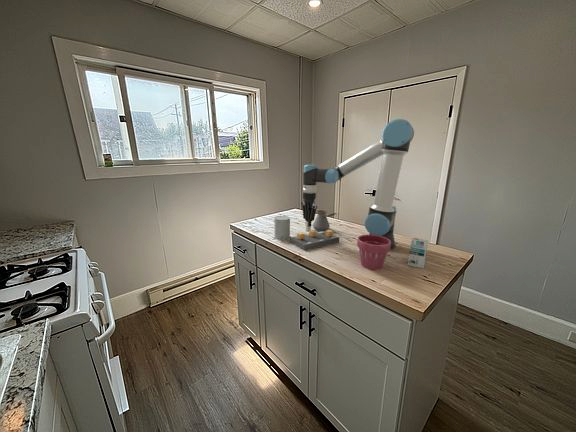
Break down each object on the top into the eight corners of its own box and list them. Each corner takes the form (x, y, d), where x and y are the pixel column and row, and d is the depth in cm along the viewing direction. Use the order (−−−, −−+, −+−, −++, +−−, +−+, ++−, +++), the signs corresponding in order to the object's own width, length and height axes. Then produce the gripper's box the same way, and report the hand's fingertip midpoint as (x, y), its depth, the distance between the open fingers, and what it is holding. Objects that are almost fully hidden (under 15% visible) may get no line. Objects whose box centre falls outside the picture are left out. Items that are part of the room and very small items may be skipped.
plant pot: (348, 262, 111) (350, 237, 108) (369, 256, 118) (372, 232, 115) (372, 275, 99) (376, 247, 96) (394, 268, 106) (398, 241, 103)
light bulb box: (423, 269, 106) (427, 246, 103) (407, 265, 109) (410, 243, 107) (425, 260, 115) (428, 239, 112) (409, 257, 118) (412, 237, 115)
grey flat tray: (339, 242, 138) (339, 236, 137) (304, 250, 125) (304, 244, 124) (323, 235, 149) (323, 230, 148) (290, 242, 137) (290, 237, 136)
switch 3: (332, 235, 138) (333, 231, 137) (328, 236, 137) (329, 231, 136) (329, 234, 141) (329, 229, 140) (325, 235, 139) (325, 230, 138)
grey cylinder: (271, 238, 142) (271, 218, 139) (278, 233, 151) (278, 215, 148) (286, 240, 139) (286, 220, 136) (292, 235, 148) (292, 216, 145)
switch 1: (304, 238, 133) (304, 233, 132) (300, 239, 132) (300, 234, 131) (301, 236, 136) (301, 232, 135) (297, 237, 134) (297, 232, 133)
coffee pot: (309, 228, 163) (310, 207, 159) (323, 226, 168) (324, 205, 164) (327, 238, 144) (328, 214, 141) (342, 235, 149) (344, 212, 146)
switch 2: (316, 236, 137) (316, 231, 137) (312, 236, 136) (312, 232, 135) (313, 234, 140) (313, 229, 139) (309, 235, 138) (309, 230, 138)
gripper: (297, 191, 139) (297, 229, 145) (311, 194, 128) (309, 235, 134) (308, 190, 143) (306, 227, 149) (321, 193, 132) (320, 233, 138)
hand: (308, 231), depth 142 cm, fingers closed
